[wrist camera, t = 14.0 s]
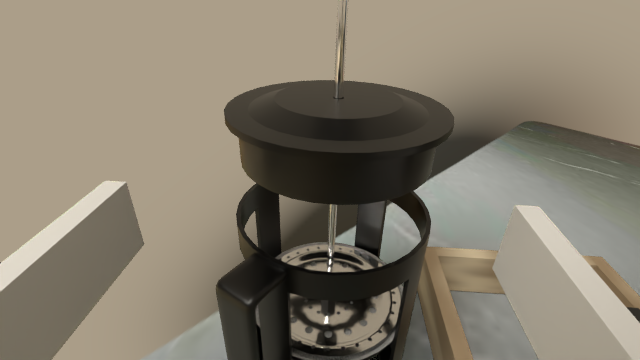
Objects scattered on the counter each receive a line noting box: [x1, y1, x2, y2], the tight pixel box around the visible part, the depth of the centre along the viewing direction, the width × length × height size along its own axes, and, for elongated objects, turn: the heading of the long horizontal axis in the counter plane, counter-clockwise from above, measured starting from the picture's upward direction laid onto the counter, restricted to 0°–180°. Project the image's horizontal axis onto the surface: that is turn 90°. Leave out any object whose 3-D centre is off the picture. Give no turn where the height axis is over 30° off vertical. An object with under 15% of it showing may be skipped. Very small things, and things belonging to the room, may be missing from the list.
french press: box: [216, 0, 454, 360], centre depth 16 cm, size 12×9×23 cm
